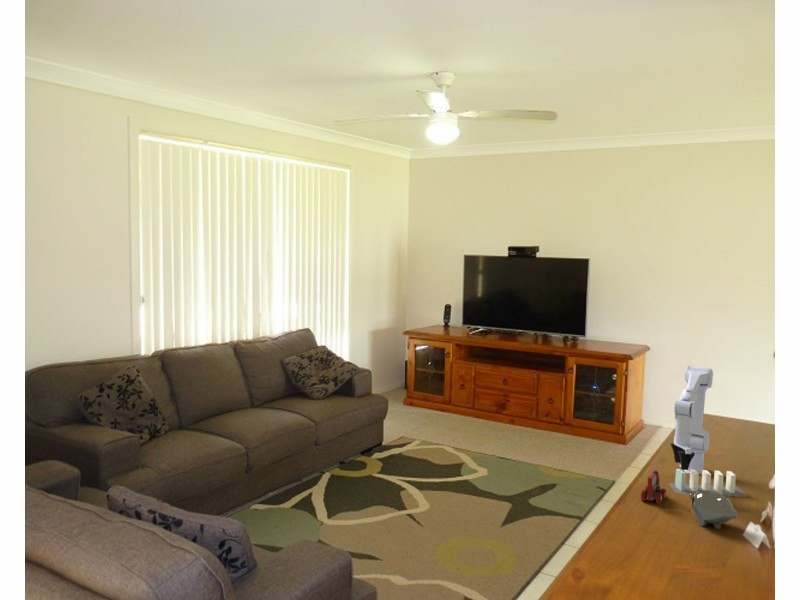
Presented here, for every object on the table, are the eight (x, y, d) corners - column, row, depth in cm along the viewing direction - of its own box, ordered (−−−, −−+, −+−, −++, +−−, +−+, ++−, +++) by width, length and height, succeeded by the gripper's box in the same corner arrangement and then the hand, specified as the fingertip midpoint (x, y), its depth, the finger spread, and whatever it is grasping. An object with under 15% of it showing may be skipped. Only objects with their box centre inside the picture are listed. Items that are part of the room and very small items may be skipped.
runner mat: (668, 484, 255) (668, 483, 255) (736, 487, 253) (737, 486, 253) (676, 494, 246) (676, 493, 246) (747, 497, 243) (748, 496, 243)
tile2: (693, 491, 248) (694, 473, 247) (689, 486, 252) (690, 469, 251) (697, 491, 247) (698, 473, 247) (693, 487, 252) (694, 469, 251)
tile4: (717, 492, 247) (719, 474, 246) (713, 487, 251) (714, 470, 250) (722, 492, 246) (723, 474, 246) (717, 488, 251) (718, 470, 250)
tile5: (730, 493, 246) (731, 475, 245) (725, 488, 251) (726, 471, 250) (734, 493, 246) (735, 475, 245) (730, 488, 250) (731, 471, 250)
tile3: (705, 491, 247) (706, 474, 246) (701, 487, 251) (702, 470, 251) (709, 492, 247) (711, 474, 246) (705, 487, 251) (706, 470, 251)
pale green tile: (681, 490, 248) (682, 473, 247) (674, 486, 252) (675, 469, 252) (685, 490, 248) (686, 473, 247) (678, 486, 252) (679, 468, 252)
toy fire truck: (667, 496, 244) (668, 469, 243) (658, 507, 234) (660, 480, 233) (648, 492, 248) (649, 465, 247) (638, 502, 238) (640, 475, 237)
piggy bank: (734, 536, 212) (736, 502, 211) (685, 525, 220) (687, 492, 218) (737, 523, 221) (740, 491, 220) (690, 513, 229) (692, 481, 228)
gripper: (700, 438, 240) (698, 473, 242) (687, 426, 255) (685, 459, 256) (681, 437, 241) (679, 472, 242) (669, 425, 255) (667, 458, 257)
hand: (681, 465), depth 249 cm, fingers open, 7 cm apart
